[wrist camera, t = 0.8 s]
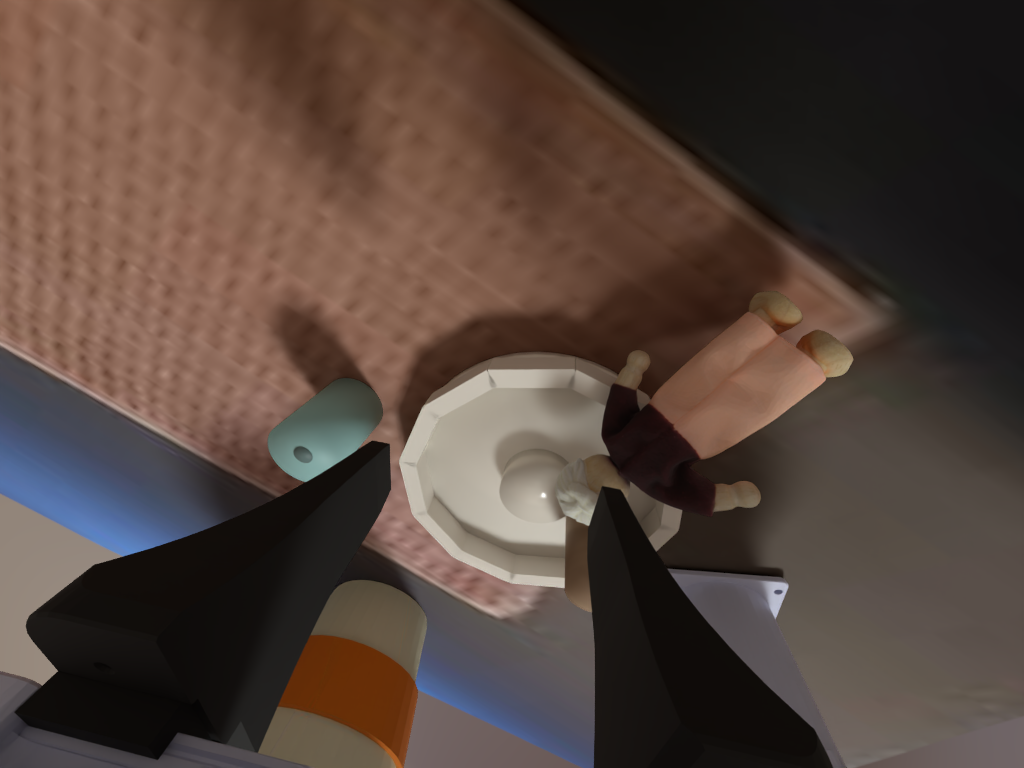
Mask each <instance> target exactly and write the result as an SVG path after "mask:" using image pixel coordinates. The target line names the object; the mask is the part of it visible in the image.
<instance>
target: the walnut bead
mask: <svg viewBox="0 0 1024 768" xmlns="http://www.w3.org/2000/svg"><path fill="white" fill-rule="evenodd" d="M588 527H589V526H588V525H585V524H584V523H580V522H577V521H576V519H573V518H571V517H569V516H566V532H565V593H566V595H567V597H568V598H569V600H570V601H571V602H572V603H573V604H575V605H576V606H578V607H579V608H581V609H583V610H586V611H589V612H592V607H591V597H590V586H589V575H588V564H587V541H588Z"/></svg>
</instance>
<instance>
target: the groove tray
mask: <svg viewBox="0 0 1024 768" xmlns="http://www.w3.org/2000/svg"><path fill="white" fill-rule="evenodd" d="M618 375H619V374H617V373H615V372H614V371H612V370H610V369H608V368H606V367H604V366H601V365H599V364H597V363H595V362H592V361H589V360H586V359H582V358H579V357H576V356H571V355H566V354H560V353H553V352H522V353H513V354H508V355H503V356H498V357H495V358H491V359H489V360H486V361H483V362H480V363H478V364H476V365H474V366H472V367H470V368H468V369H466V370H464V371H463V372H461V373H460V374H458V375H457V376H455V377H454V378H453V379H451V380H450V381H449V382H448V383H447V384H446V385H445V386H443V387H442V388H440V389H438V390H437V391H435V392H433V393H432V394H431V396H430V397H429V398H428V400H427V401H426V403H425V404H424V406H423V407H422V409H421V412H420V414H419V416H418V418H417V421H416V423H415V425H414V428H413V430H412V432H411V434H410V437H409V439H408V441H407V444H406V446H405V448H404V451H403V453H402V455H401V457H400V460H399V464H400V468H401V472H402V475H403V479H404V483H405V487H406V491H407V495H408V499H409V503H410V507H411V511H412V515H413V516H414V517H415V518H416V519H417V520H418V521H419V522H420V523H421V525H422V526H423V527H424V528H425V529H426V530H427V531H428V532H429V533H430V534H431V535H432V536H433V537H434V538H435V539H436V540H437V541H438V542H439V543H440V544H441V545H442V547H443V548H444V549H445V550H446V551H447V552H448V553H449V554H450V555H451V556H452V557H454V558H455V559H457V560H459V561H462V562H464V563H466V564H468V565H471V566H473V567H475V568H477V569H479V570H482V571H484V572H486V573H488V574H491V575H493V576H495V577H497V578H499V579H502V580H504V581H506V582H508V583H513V584H525V585H537V586H548V587H560V588H565V532H566V515H565V514H564V513H563V511H562V508H561V506H560V505H559V501H558V499H557V497H556V495H555V485H556V480H557V478H558V476H559V474H560V473H561V471H562V470H563V468H564V467H565V466H566V465H567V464H569V463H573V462H576V460H577V459H578V458H581V459H582V460H585V459H586V458H588V457H590V456H593V455H597V454H603V455H608V456H610V454H609V452H608V450H607V448H606V445H605V444H604V442H603V440H602V437H601V429H602V422H603V416H604V411H605V407H606V403H607V400H608V396H609V393H610V389H611V386H612V384H613V383H615V381H616V379H617V377H618ZM637 398H638V399H637V402H638V406H639V408H640V411H641V410H642V408H643V407H644V406H646V405H647V404H648V403H649V402H650V400H651V399H650V398H649V396H648V395H647V394H646V393H644V392H642V391H641V390H639V389H638V388H637ZM627 501H628V503H629V505H630V507H631V509H632V511H633V513H634V515H635V516H636V518H637V520H638V522H639V524H640V525H641V527H642V529H643V531H644V532H645V534H646V536H647V537H648V539H649V541H650V542H651V544H652V546H653V547H654V549H655V551H657V550H658V549H660V548H661V547H662V546H663V545H664V544H665V543H666V542H667V541H668V540H669V539H670V538H671V537H673V536H674V535H675V534H676V533H677V532H678V530H679V526H680V520H681V515H682V510H680V509H677V508H674V507H671V506H668V505H666V504H664V503H661V502H659V501H657V500H655V499H654V498H652V497H650V496H649V495H647V494H646V493H644V492H643V491H641V490H640V489H639V488H638V487H637V486H636V485H634V484H633V483H632V482H630V492H629V495H628V497H627Z"/></svg>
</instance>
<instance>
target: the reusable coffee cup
mask: <svg viewBox="0 0 1024 768" xmlns="http://www.w3.org/2000/svg"><path fill="white" fill-rule="evenodd" d="M426 628H427V618H426V615H425V613H424V611H423V610H422V608H421V607H420V606H419V604H418V603H417V602H416V601H415V600H413V599H412V598H411V597H410V596H409V595H407V594H405V593H404V592H402V591H401V590H399V589H396V588H394V587H392V586H390V585H387V584H384V583H380V582H376V581H370V580H353V581H349V582H345V583H343V584H341V585H339V586H338V587H337V588H336V589H335V590H334V591H333V593H332V594H331V595H330V597H329V599H328V601H327V603H326V605H325V607H324V609H323V611H322V613H321V615H320V616H319V618H318V620H317V622H316V625H315V627H314V629H313V631H312V633H311V635H310V637H309V639H308V641H307V643H306V645H305V647H304V649H303V652H302V654H301V656H300V658H299V660H298V662H297V665H296V667H295V669H294V671H293V673H292V676H291V678H290V680H289V682H288V684H287V686H286V689H285V691H284V693H283V695H282V698H281V700H280V702H279V705H278V707H277V709H276V712H275V714H274V716H273V719H272V721H271V723H270V726H269V728H268V730H267V733H266V735H265V737H264V740H263V742H262V744H261V747H260V749H259V752H258V753H260V754H264V755H268V756H272V757H275V758H279V759H283V760H287V761H291V762H295V763H299V764H303V765H307V766H310V767H314V768H404V763H405V758H406V753H407V748H408V743H409V738H410V733H411V728H412V723H413V717H414V713H415V708H416V703H417V698H418V689H417V687H416V684H415V681H416V676H417V672H418V667H419V662H420V657H421V652H422V648H423V643H424V638H425V633H426Z"/></svg>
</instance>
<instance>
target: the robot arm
mask: <svg viewBox="0 0 1024 768" xmlns="http://www.w3.org/2000/svg"><path fill="white" fill-rule="evenodd" d="M390 490H391V475H390V444H387V443H382V442H377V441H371V442H369V443H368V444H366V445H364V446H363V447H361V448H360V449H358V450H357V451H355V452H354V453H352V454H351V455H349V456H348V457H346V458H344V459H343V460H341V461H340V462H338V463H337V464H335V465H333V466H332V467H330V468H329V469H327V470H325V471H324V472H322V473H321V474H319V475H317V476H316V477H314V478H312V479H310V480H309V481H307V482H305V483H303V484H302V485H300V486H298V487H296V488H295V489H293V490H291V491H289V492H288V493H286V494H284V495H282V496H280V497H278V498H276V499H274V500H272V501H270V502H268V503H266V504H264V505H262V506H260V507H258V508H256V509H253V510H251V511H249V512H247V513H245V514H242V515H240V516H237V517H235V518H233V519H230V520H228V521H225V522H223V523H221V524H218V525H216V526H213V527H211V528H208V529H206V530H203V531H200V532H198V533H195V534H192V535H189V536H187V537H184V538H181V539H178V540H175V541H172V542H169V543H166V544H163V545H160V546H157V547H154V548H151V549H148V550H144V551H141V552H137V553H134V554H130V555H127V556H124V557H120V558H117V559H113V560H110V561H106V562H103V563H99V564H95V565H94V566H92V567H91V568H90V569H88V570H87V571H86V572H84V573H83V574H82V575H81V576H79V577H78V578H77V579H75V580H74V581H73V582H72V583H70V584H69V585H68V586H67V587H65V588H64V589H63V590H61V591H60V592H59V593H57V594H56V595H55V596H54V597H52V598H51V599H50V600H49V601H47V602H46V603H45V604H44V605H42V606H41V607H40V608H38V609H37V610H36V611H35V612H33V613H32V614H31V615H30V616H29V618H28V620H27V623H26V629H27V633H28V634H29V636H30V638H31V639H32V640H33V642H34V643H35V644H36V645H37V647H38V648H39V649H40V650H41V651H42V653H43V654H44V655H45V656H46V657H47V658H48V660H49V661H50V662H51V663H52V664H53V665H54V667H55V668H56V669H57V670H58V672H57V673H56V674H55V675H53V676H52V677H51V678H50V679H49V680H48V681H47V682H46V683H45V684H44V685H43V686H41V685H40V684H39V683H37V682H35V681H33V680H30V679H28V678H25V677H21V676H17V675H13V674H9V673H5V672H1V671H0V768H314V767H310V766H307V765H303V764H299V763H295V762H291V761H287V760H283V759H279V758H275V757H272V756H268V755H264V754H260V753H258V752H259V749H260V747H261V744H262V742H263V740H264V737H265V735H266V733H267V730H268V728H269V726H270V723H271V721H272V719H273V716H274V714H275V712H276V709H277V707H278V705H279V702H280V700H281V698H282V695H283V693H284V691H285V689H286V686H287V684H288V682H289V680H290V678H291V676H292V673H293V671H294V669H295V667H296V665H297V662H298V660H299V658H300V656H301V654H302V652H303V649H304V647H305V645H306V643H307V641H308V639H309V637H310V635H311V633H312V631H313V629H314V627H315V625H316V622H317V620H318V618H319V616H320V615H321V613H322V611H323V609H324V607H325V605H326V603H327V601H328V599H329V597H330V595H331V593H332V591H333V589H334V587H335V586H336V584H337V582H338V580H339V579H340V577H341V575H342V574H343V572H344V570H345V569H346V567H347V566H348V564H349V563H350V561H351V559H352V558H353V556H354V555H355V553H356V551H357V550H358V548H359V547H360V545H361V543H362V542H363V540H364V539H365V537H366V535H367V534H368V532H369V531H370V529H371V527H372V526H373V524H374V523H375V521H376V519H377V518H378V516H379V514H380V512H381V510H382V508H383V506H384V503H385V501H386V499H387V497H388V495H389V492H390ZM587 564H588V575H589V586H590V597H591V607H592V617H593V628H594V642H595V740H594V768H847V767H846V765H845V763H844V761H843V759H842V757H841V755H840V753H839V751H838V749H837V747H836V744H835V742H834V740H833V738H832V736H831V734H830V732H829V730H828V728H827V726H826V724H825V722H824V719H823V717H822V715H821V713H820V711H819V709H818V707H817V705H816V703H815V701H814V699H813V696H812V694H811V692H810V690H809V688H808V686H807V684H806V682H805V680H804V678H803V676H802V674H801V671H800V669H799V667H798V665H797V663H796V661H795V659H794V657H793V655H792V653H791V651H790V648H789V646H788V644H787V642H786V640H785V638H784V636H783V634H782V632H781V630H780V628H779V625H778V623H777V621H776V616H777V614H778V612H779V609H780V607H781V604H782V602H783V599H784V597H785V594H786V592H787V589H788V583H787V582H786V580H785V579H784V578H781V577H772V576H758V575H745V574H732V573H718V572H705V571H692V570H678V569H667V567H666V566H665V565H664V563H663V562H662V560H661V558H660V557H659V555H658V554H657V552H656V551H655V549H654V547H653V546H652V544H651V542H650V541H649V539H648V537H647V536H646V534H645V532H644V531H643V529H642V527H641V525H640V524H639V522H638V520H637V518H636V516H635V515H634V513H633V511H632V509H631V507H630V505H629V503H628V501H627V499H626V497H625V496H624V494H623V492H622V491H621V489H616V488H611V487H606V486H602V487H601V490H600V493H599V496H598V500H597V503H596V506H595V509H594V512H593V515H592V518H591V521H590V524H589V527H588V541H587Z"/></svg>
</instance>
